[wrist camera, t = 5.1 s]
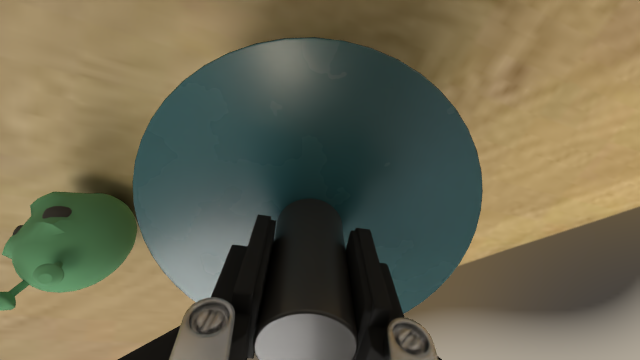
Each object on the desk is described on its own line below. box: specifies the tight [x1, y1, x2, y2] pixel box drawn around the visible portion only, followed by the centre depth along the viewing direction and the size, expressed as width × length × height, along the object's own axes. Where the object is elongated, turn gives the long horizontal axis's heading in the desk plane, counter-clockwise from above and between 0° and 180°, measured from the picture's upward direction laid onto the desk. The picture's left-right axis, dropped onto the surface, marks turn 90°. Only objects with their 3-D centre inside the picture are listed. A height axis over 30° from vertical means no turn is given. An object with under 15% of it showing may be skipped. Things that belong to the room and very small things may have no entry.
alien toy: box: [0, 192, 137, 310], centre depth 23 cm, size 7×8×10 cm
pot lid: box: [133, 37, 482, 360], centre depth 12 cm, size 16×16×7 cm
